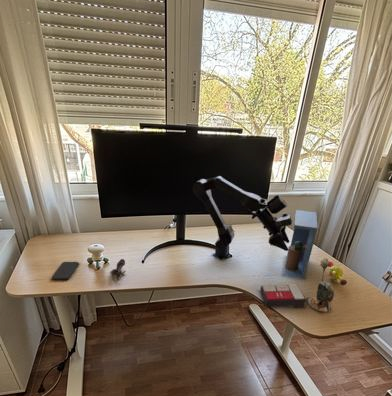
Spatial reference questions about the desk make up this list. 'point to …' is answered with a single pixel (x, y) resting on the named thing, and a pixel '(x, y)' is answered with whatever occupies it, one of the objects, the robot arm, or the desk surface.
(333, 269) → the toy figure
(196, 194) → the robot arm
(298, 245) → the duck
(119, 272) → the dark squid figurine
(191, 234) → the desk surface
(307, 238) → the cubby
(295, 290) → the red and grey box
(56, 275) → the phone
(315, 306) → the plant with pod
